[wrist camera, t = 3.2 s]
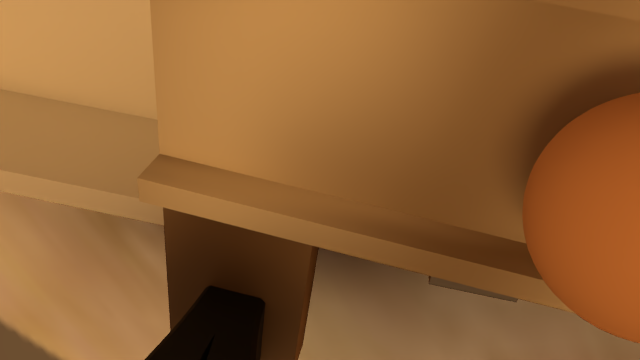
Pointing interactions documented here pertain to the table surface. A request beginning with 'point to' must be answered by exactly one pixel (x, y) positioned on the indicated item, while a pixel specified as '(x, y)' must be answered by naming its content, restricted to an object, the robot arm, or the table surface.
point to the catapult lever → (365, 137)
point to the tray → (78, 103)
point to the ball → (590, 216)
